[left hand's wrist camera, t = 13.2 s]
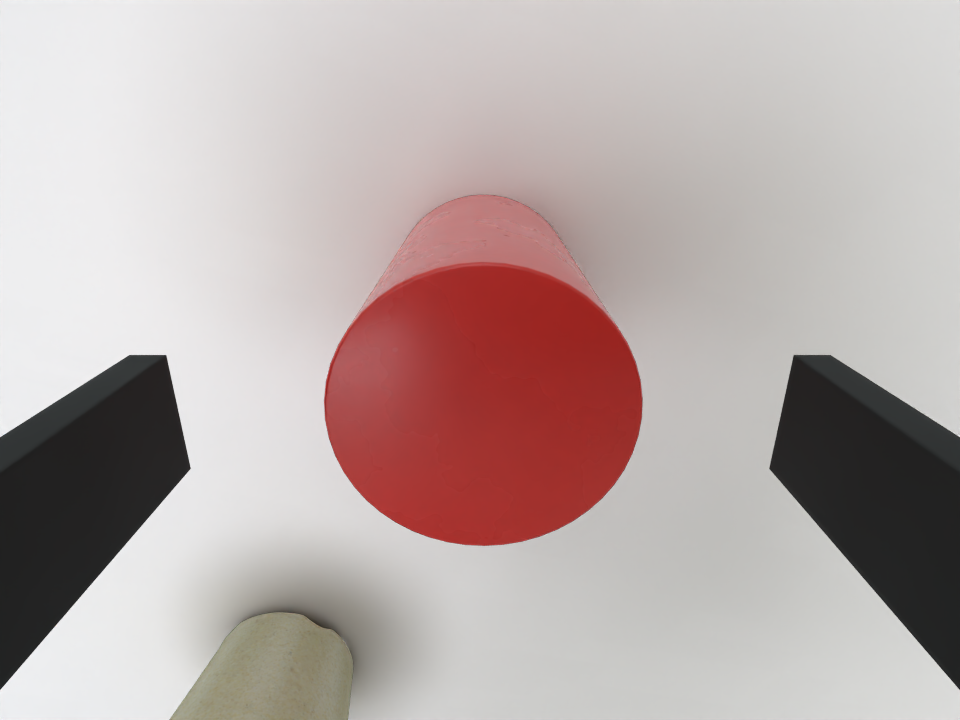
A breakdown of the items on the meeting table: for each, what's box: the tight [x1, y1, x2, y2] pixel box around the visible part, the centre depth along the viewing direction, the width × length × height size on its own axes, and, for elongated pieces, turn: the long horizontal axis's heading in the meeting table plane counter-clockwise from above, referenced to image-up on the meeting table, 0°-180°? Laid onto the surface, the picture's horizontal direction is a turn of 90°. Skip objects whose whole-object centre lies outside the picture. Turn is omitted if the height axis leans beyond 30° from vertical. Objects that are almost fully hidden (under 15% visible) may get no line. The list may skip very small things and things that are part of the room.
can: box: [324, 195, 643, 546], centre depth 16 cm, size 6×6×10 cm
